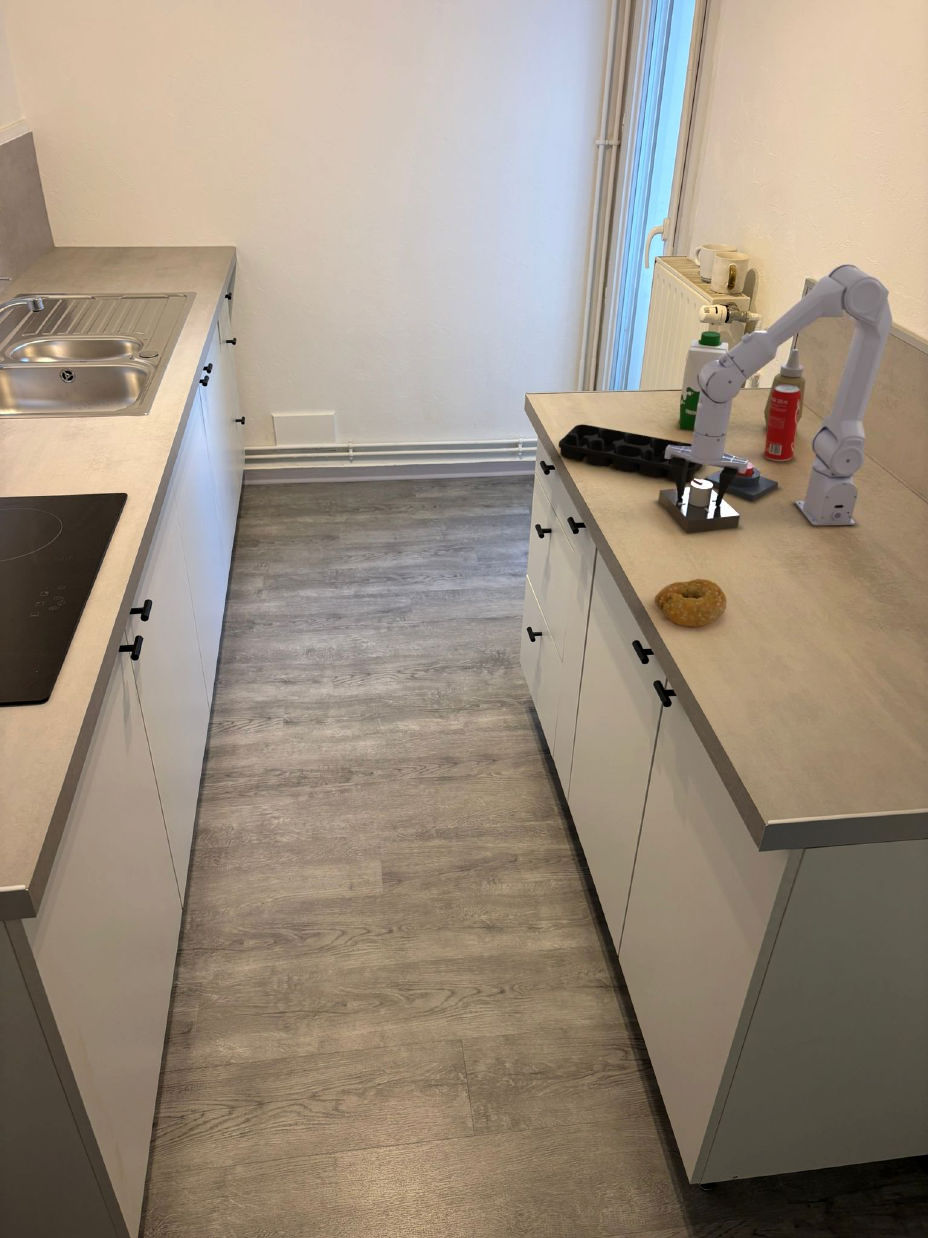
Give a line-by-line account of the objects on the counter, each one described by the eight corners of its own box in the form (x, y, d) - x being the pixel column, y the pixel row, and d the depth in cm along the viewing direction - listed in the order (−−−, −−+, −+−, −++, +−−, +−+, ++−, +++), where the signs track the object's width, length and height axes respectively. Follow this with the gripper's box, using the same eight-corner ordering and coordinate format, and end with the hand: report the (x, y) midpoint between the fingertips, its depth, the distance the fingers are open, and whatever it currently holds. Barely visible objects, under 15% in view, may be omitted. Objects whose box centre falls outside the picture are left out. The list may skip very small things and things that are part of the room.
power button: (755, 473, 188) (757, 465, 187) (745, 478, 186) (747, 470, 185) (739, 467, 190) (741, 459, 189) (729, 472, 188) (731, 464, 187)
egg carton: (703, 487, 189) (705, 469, 187) (552, 470, 195) (553, 452, 193) (706, 453, 203) (709, 436, 201) (565, 438, 209) (566, 421, 207)
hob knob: (714, 503, 177) (717, 484, 175) (699, 508, 175) (702, 489, 173) (698, 495, 180) (702, 476, 178) (683, 500, 178) (686, 481, 176)
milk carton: (718, 420, 219) (732, 332, 208) (715, 435, 212) (729, 344, 201) (679, 416, 221) (691, 328, 210) (674, 430, 214) (687, 340, 203)
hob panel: (737, 528, 175) (740, 514, 173) (686, 533, 173) (689, 519, 171) (706, 497, 185) (708, 484, 184) (657, 502, 183) (659, 489, 182)
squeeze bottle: (753, 425, 217) (768, 346, 207) (781, 420, 220) (797, 342, 210) (777, 438, 211) (793, 357, 201) (806, 433, 214) (823, 352, 204)
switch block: (777, 488, 189) (780, 473, 187) (752, 502, 184) (755, 486, 182) (729, 471, 196) (731, 456, 194) (703, 483, 190) (706, 469, 189)
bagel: (672, 588, 157) (676, 562, 154) (735, 611, 151) (740, 585, 148) (641, 613, 150) (644, 586, 147) (705, 638, 144) (710, 611, 142)
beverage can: (793, 463, 199) (808, 393, 191) (760, 461, 200) (774, 391, 192) (790, 452, 204) (805, 384, 196) (759, 450, 205) (772, 381, 197)
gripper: (756, 430, 170) (743, 500, 178) (676, 416, 176) (667, 484, 183) (747, 444, 165) (734, 515, 172) (665, 429, 170) (656, 498, 178)
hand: (699, 500), depth 177 cm, fingers open, 6 cm apart
